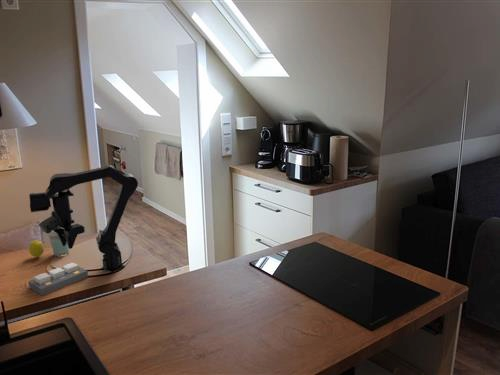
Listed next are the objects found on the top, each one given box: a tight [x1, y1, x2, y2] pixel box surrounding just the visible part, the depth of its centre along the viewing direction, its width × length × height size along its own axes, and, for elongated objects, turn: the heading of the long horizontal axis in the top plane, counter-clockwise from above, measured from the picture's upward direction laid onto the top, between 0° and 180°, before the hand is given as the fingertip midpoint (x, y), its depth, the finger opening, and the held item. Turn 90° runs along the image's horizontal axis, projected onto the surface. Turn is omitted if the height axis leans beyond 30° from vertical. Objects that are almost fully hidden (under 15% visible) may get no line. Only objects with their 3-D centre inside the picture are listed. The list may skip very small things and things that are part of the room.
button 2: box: [62, 262, 79, 274], centre depth 168 cm, size 4×4×2 cm
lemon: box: [28, 239, 45, 258], centre depth 186 cm, size 6×6×8 cm
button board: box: [28, 265, 89, 296], centre depth 164 cm, size 18×10×3 cm, turn 140°
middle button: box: [48, 267, 65, 279], centre depth 164 cm, size 4×4×2 cm
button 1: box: [33, 272, 51, 284], centre depth 160 cm, size 4×4×2 cm
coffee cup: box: [47, 231, 70, 257], centre depth 188 cm, size 8×8×12 cm
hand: (67, 247), depth 166 cm, fingers open, 4 cm apart
